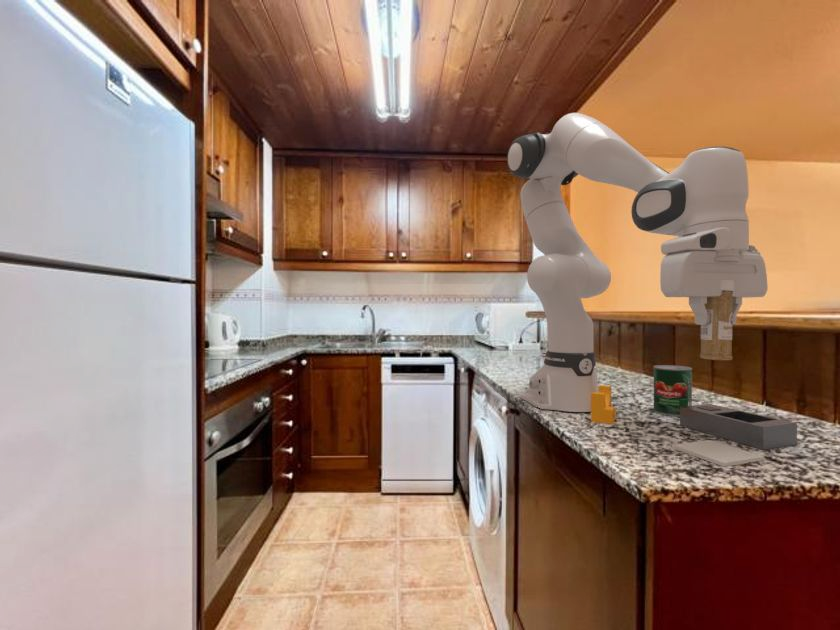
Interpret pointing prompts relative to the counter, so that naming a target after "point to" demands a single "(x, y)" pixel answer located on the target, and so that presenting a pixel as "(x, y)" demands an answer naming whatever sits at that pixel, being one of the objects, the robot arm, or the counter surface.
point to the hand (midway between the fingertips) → (715, 324)
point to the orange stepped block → (602, 406)
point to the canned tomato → (672, 389)
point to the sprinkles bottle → (718, 325)
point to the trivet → (718, 453)
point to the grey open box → (739, 426)
